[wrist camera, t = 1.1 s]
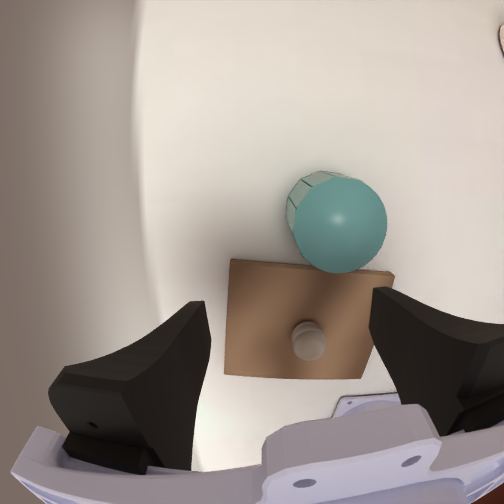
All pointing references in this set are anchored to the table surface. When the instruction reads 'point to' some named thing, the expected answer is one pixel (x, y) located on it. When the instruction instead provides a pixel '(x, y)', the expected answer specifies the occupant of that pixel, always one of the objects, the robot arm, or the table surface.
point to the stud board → (298, 321)
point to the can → (502, 37)
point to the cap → (336, 221)
